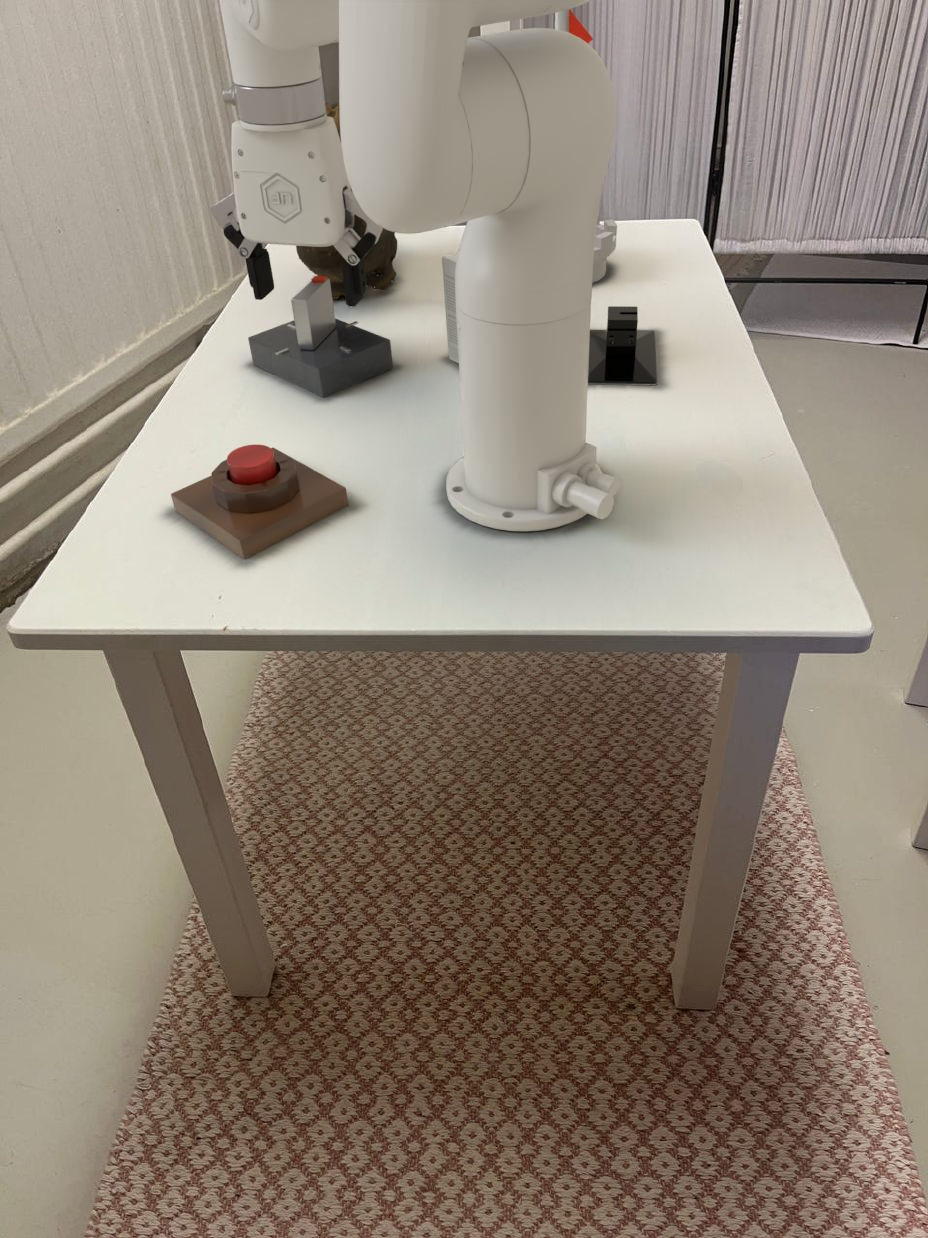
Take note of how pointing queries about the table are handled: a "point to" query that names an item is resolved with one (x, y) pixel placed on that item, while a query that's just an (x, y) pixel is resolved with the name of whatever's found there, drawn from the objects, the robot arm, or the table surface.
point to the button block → (259, 505)
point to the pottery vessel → (331, 260)
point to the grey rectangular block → (313, 313)
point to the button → (252, 464)
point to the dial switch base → (322, 357)
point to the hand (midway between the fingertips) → (309, 297)
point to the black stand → (622, 351)
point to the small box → (450, 304)
